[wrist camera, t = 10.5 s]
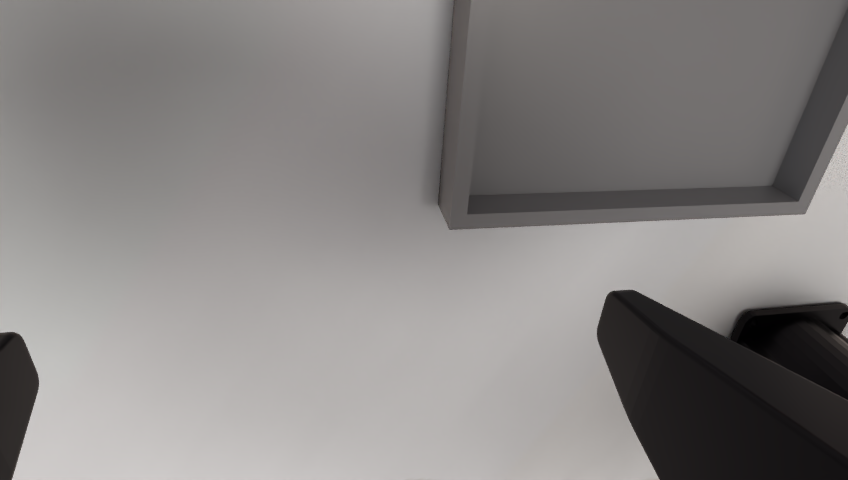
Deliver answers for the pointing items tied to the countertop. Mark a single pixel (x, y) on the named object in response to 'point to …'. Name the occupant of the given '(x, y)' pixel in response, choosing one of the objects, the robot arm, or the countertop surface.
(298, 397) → the countertop surface
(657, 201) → the bin
